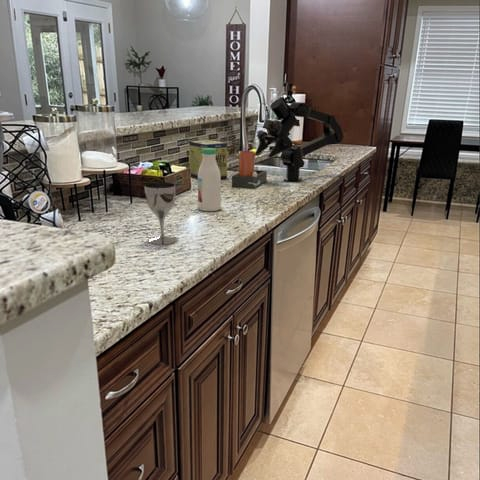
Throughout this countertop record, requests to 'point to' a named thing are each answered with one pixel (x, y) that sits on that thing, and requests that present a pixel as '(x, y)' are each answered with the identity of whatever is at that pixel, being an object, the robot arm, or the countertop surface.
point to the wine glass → (160, 206)
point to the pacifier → (254, 176)
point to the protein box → (197, 157)
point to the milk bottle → (209, 182)
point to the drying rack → (249, 180)
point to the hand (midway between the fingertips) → (262, 155)
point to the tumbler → (246, 163)
